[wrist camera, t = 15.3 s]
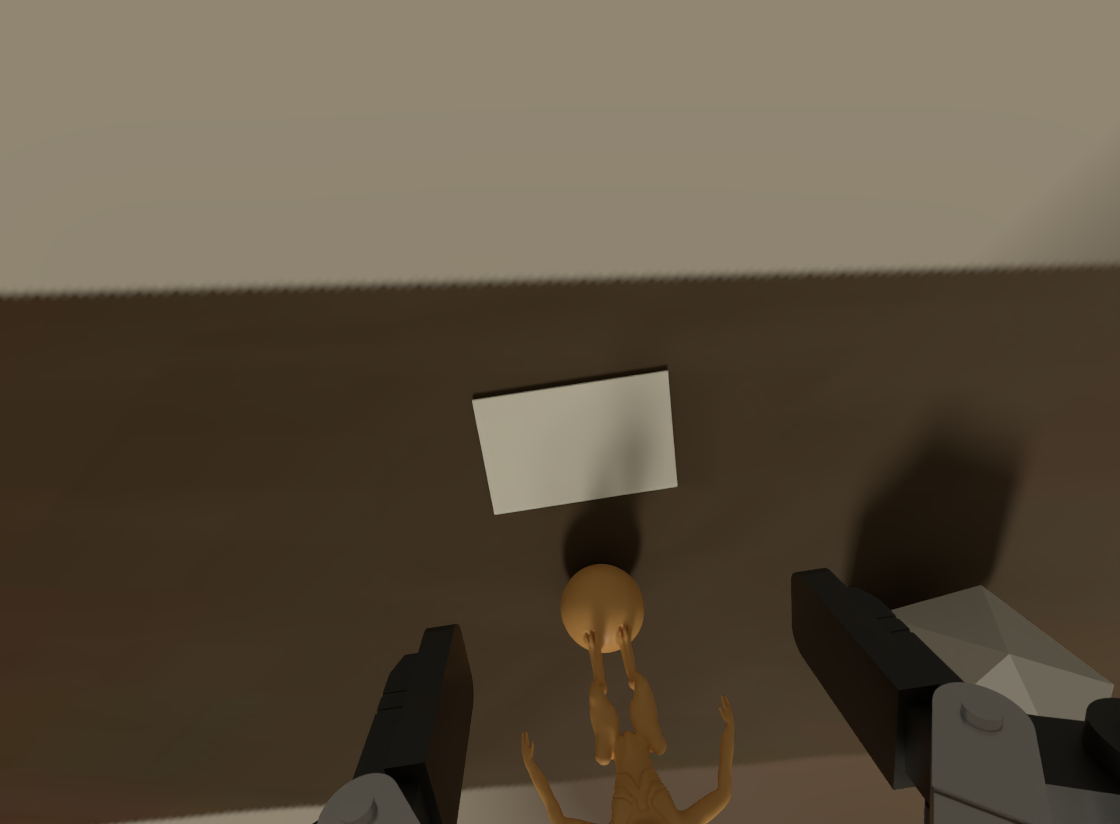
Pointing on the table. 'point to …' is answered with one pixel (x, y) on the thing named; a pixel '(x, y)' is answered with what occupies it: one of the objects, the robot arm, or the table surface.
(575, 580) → the figurine
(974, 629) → the die
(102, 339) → the table surface
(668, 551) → the table surface
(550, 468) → the grey mat
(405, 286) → the table surface
